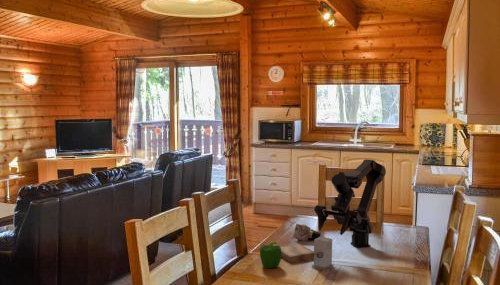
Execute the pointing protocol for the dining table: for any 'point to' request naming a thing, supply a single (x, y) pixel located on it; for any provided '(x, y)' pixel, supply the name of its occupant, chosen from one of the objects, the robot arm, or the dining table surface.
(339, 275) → the dining table surface
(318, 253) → the plate
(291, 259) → the stand
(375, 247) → the dining table surface
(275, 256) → the bell pepper
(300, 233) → the grey brown rock
